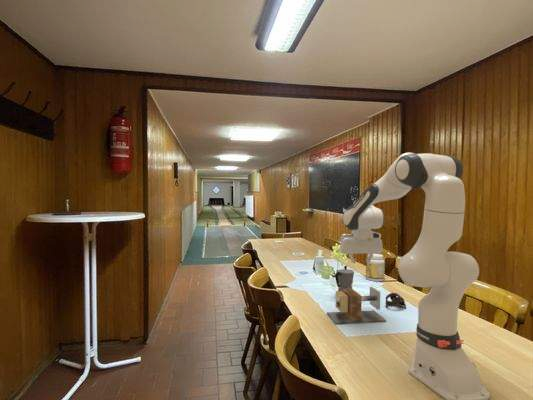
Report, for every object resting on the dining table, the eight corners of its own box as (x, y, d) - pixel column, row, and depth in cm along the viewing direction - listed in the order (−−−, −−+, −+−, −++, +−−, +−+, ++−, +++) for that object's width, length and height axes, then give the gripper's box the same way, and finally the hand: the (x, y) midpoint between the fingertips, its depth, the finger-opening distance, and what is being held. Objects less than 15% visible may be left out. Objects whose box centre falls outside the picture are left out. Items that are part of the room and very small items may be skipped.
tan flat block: (341, 306, 146) (341, 291, 146) (347, 312, 139) (347, 296, 139) (335, 306, 146) (335, 291, 146) (341, 312, 138) (341, 296, 138)
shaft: (371, 303, 148) (372, 287, 148) (380, 309, 140) (380, 292, 140) (333, 305, 146) (333, 288, 146) (339, 311, 138) (339, 293, 138)
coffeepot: (345, 293, 179) (345, 262, 179) (359, 297, 172) (359, 265, 172) (328, 299, 169) (328, 266, 169) (342, 303, 162) (342, 269, 162)
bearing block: (373, 311, 151) (374, 287, 151) (386, 321, 139) (386, 295, 139) (326, 314, 148) (326, 289, 148) (335, 324, 136) (335, 297, 136)
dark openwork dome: (410, 311, 153) (404, 298, 151) (392, 318, 154) (386, 305, 153) (401, 298, 164) (396, 285, 162) (385, 304, 166) (379, 292, 164)
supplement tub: (362, 277, 214) (362, 253, 214) (376, 276, 218) (377, 252, 217) (373, 282, 202) (373, 257, 202) (388, 281, 206) (388, 256, 206)
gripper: (342, 234, 141) (342, 264, 142) (384, 234, 144) (384, 263, 144) (337, 233, 148) (337, 261, 148) (377, 232, 150) (377, 260, 150)
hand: (360, 262), depth 146 cm, fingers open, 6 cm apart
